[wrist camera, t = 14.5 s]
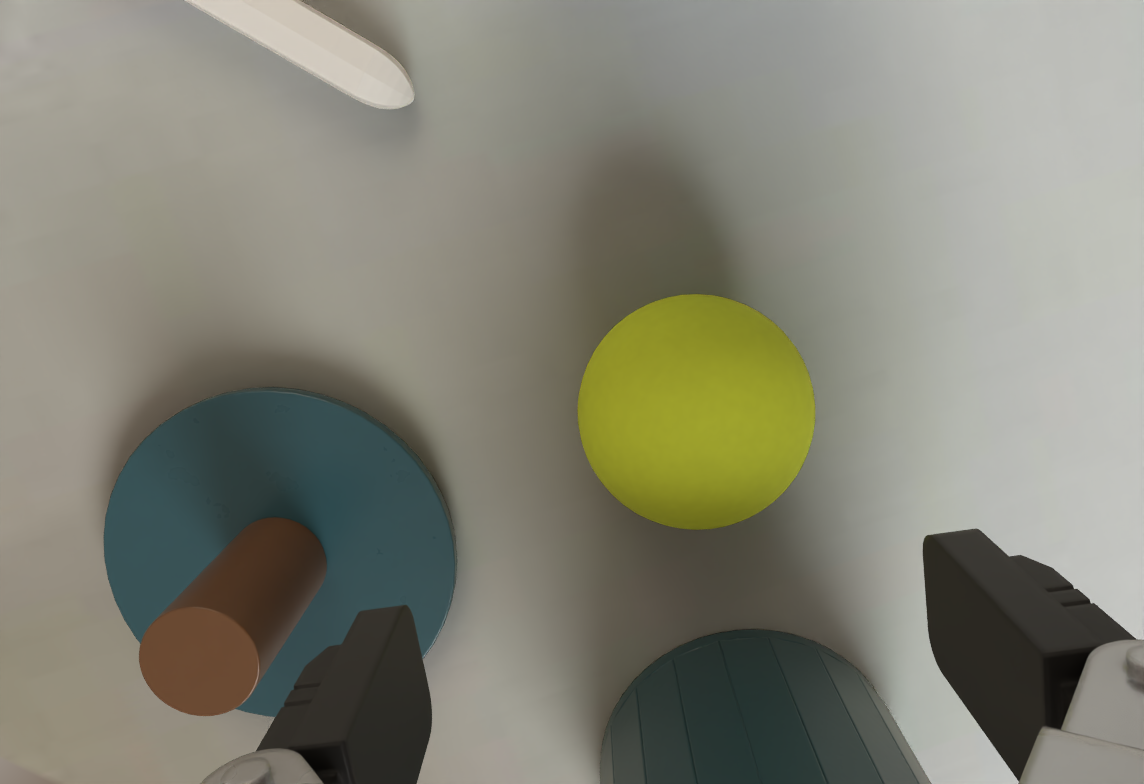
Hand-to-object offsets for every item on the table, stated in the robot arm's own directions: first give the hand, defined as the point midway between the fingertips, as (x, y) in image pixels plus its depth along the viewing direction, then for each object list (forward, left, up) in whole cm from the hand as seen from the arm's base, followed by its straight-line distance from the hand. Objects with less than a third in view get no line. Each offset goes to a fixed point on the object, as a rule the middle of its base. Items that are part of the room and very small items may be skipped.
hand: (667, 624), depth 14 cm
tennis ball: (-1, +1, -11) cm, 11 cm away
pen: (-4, -17, -14) cm, 23 cm away
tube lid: (+10, -7, -14) cm, 18 cm away
